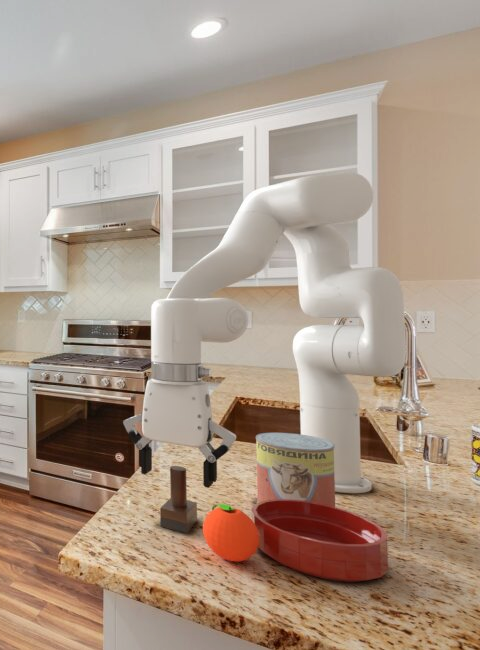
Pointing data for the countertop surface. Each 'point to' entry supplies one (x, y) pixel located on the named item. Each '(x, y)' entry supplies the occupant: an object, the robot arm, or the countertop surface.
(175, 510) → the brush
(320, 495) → the canned food
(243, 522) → the clementine
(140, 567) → the countertop surface
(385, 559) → the bowl
